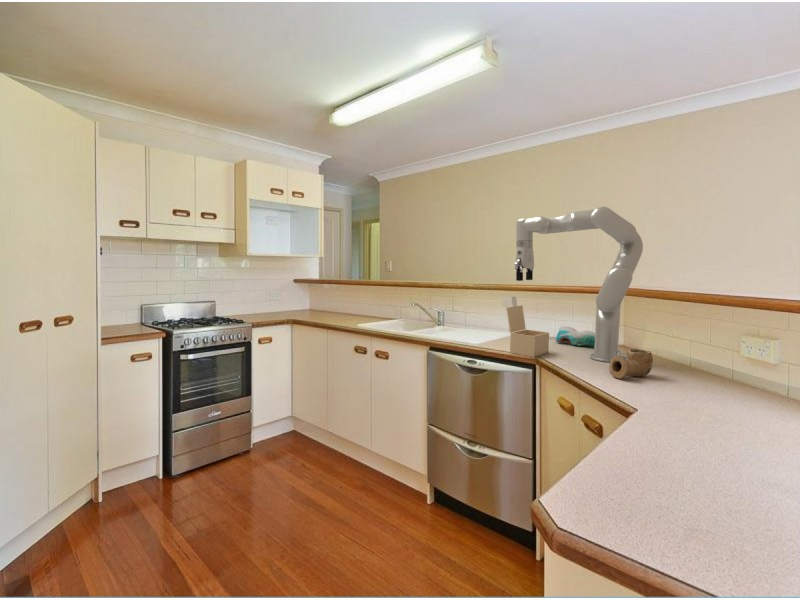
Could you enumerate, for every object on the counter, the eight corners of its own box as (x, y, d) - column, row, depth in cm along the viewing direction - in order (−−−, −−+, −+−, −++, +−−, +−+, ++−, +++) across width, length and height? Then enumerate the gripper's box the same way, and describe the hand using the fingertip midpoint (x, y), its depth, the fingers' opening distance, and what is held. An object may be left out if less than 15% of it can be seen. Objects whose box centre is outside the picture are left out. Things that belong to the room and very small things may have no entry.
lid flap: (521, 296, 204) (510, 297, 208) (506, 297, 194) (495, 299, 198) (525, 329, 204) (514, 330, 208) (510, 332, 193) (499, 333, 197)
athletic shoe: (552, 343, 223) (550, 329, 216) (561, 332, 227) (559, 318, 220) (600, 363, 205) (599, 347, 198) (609, 350, 209) (608, 335, 202)
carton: (548, 352, 196) (549, 332, 195) (533, 357, 185) (534, 336, 185) (525, 348, 205) (525, 329, 204) (510, 353, 194) (510, 333, 193)
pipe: (605, 375, 156) (606, 350, 155) (635, 372, 162) (637, 347, 161) (625, 382, 148) (627, 355, 147) (657, 378, 154) (658, 351, 153)
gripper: (523, 243, 187) (523, 281, 189) (540, 244, 200) (540, 279, 201) (508, 244, 193) (508, 280, 194) (525, 245, 205) (525, 279, 206)
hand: (524, 280), depth 197 cm, fingers open, 9 cm apart
